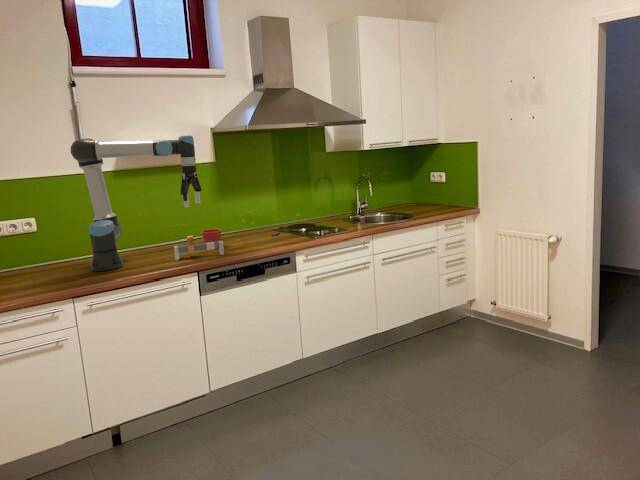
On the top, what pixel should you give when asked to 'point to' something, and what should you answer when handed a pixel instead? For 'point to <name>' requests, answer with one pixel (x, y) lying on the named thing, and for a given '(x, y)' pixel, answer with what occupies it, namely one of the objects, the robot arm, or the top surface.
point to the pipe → (199, 248)
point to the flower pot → (211, 235)
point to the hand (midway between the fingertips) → (192, 205)
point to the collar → (190, 245)
